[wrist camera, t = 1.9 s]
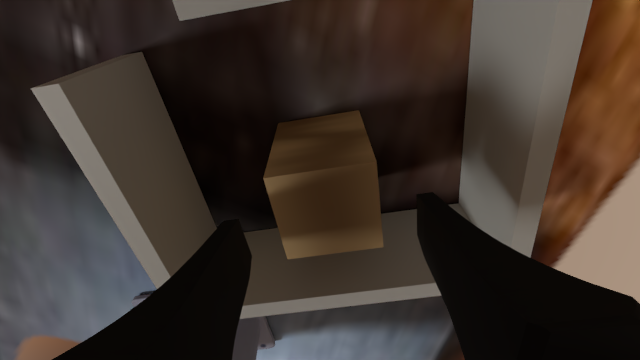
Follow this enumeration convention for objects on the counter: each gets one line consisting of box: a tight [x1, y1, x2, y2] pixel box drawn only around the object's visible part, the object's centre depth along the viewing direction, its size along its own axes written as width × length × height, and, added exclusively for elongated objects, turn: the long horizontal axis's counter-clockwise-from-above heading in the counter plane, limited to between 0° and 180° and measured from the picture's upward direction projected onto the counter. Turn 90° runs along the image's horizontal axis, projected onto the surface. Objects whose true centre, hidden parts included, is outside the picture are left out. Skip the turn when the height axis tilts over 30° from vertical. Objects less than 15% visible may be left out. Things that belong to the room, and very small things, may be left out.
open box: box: [31, 0, 593, 319], centre depth 16 cm, size 18×13×6 cm
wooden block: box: [263, 110, 383, 259], centre depth 16 cm, size 4×4×6 cm
